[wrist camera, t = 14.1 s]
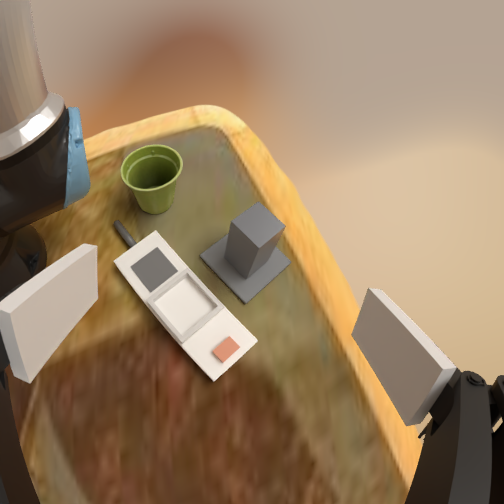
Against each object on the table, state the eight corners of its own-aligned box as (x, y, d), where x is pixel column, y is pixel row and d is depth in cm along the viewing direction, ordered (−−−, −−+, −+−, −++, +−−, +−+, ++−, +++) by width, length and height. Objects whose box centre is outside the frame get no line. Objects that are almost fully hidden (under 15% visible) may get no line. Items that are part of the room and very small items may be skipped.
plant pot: (190, 213, 47) (190, 178, 40) (136, 231, 44) (126, 198, 36) (174, 174, 50) (172, 138, 43) (125, 189, 47) (116, 154, 40)
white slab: (98, 240, 42) (92, 229, 39) (137, 212, 45) (134, 201, 43) (213, 381, 36) (214, 380, 33) (255, 343, 39) (259, 339, 37)
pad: (199, 256, 44) (199, 254, 43) (246, 221, 48) (247, 219, 48) (245, 304, 42) (246, 303, 41) (290, 263, 46) (291, 261, 46)
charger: (223, 256, 44) (230, 220, 35) (246, 239, 46) (258, 201, 37) (246, 279, 43) (259, 248, 34) (268, 260, 45) (285, 226, 36)
